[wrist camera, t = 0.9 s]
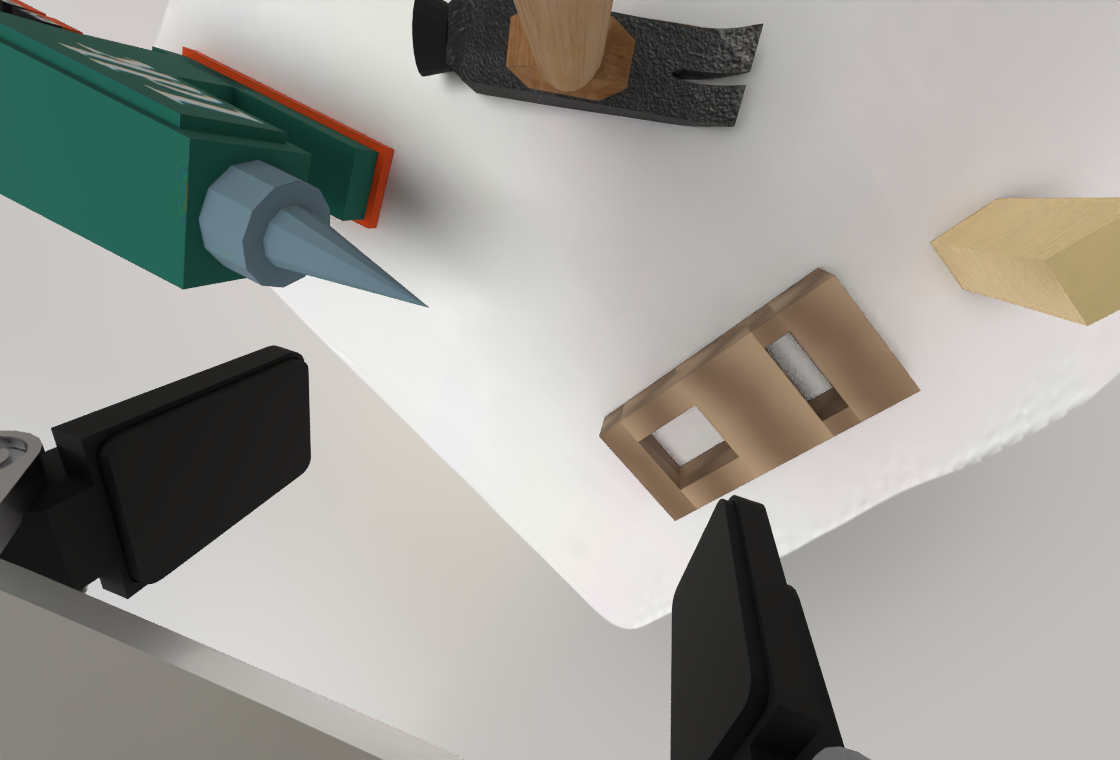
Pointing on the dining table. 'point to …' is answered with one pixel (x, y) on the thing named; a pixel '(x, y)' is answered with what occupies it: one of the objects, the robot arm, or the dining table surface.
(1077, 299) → the square bit
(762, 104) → the dining table surface
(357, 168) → the power tool
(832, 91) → the dining table surface
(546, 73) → the hammer
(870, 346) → the block
